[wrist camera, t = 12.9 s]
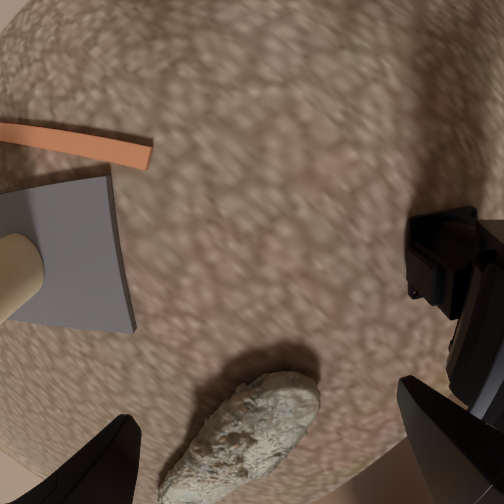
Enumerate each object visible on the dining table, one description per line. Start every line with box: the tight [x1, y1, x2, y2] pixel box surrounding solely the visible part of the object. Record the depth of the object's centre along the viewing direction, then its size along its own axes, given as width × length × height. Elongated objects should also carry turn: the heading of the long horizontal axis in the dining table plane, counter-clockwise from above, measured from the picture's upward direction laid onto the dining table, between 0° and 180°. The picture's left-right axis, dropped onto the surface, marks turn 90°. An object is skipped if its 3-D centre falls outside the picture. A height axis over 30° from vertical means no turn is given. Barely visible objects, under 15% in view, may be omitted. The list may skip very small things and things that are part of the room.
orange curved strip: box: [0, 122, 153, 170], centre depth 18 cm, size 18×2×1 cm, turn 74°
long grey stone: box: [158, 371, 320, 504], centre depth 28 cm, size 35×5×10 cm
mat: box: [0, 175, 137, 333], centre depth 21 cm, size 16×12×1 cm
